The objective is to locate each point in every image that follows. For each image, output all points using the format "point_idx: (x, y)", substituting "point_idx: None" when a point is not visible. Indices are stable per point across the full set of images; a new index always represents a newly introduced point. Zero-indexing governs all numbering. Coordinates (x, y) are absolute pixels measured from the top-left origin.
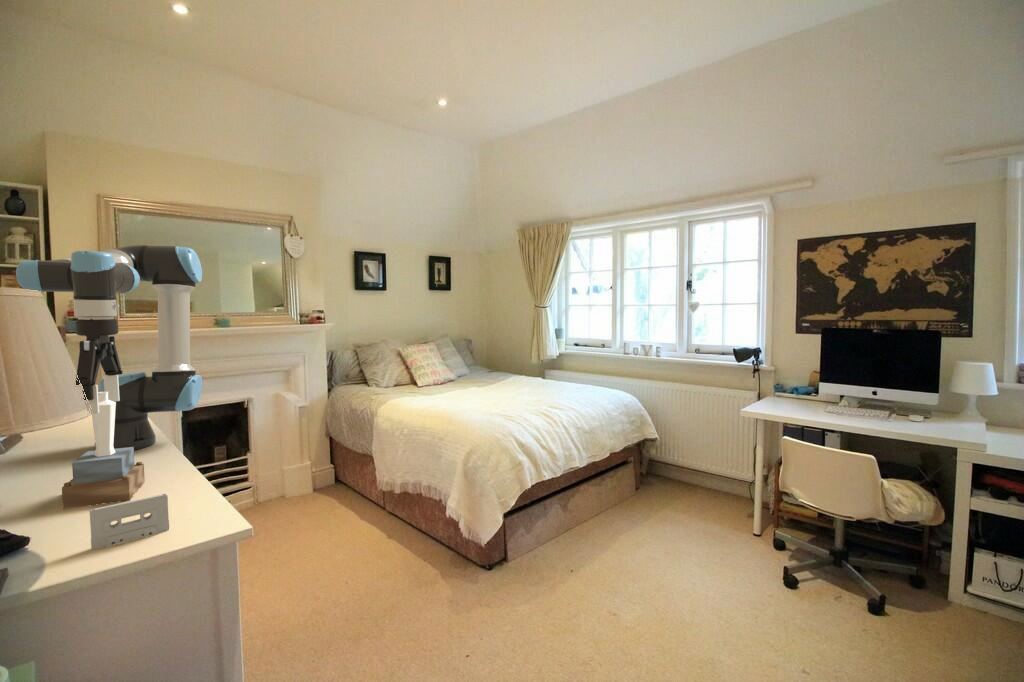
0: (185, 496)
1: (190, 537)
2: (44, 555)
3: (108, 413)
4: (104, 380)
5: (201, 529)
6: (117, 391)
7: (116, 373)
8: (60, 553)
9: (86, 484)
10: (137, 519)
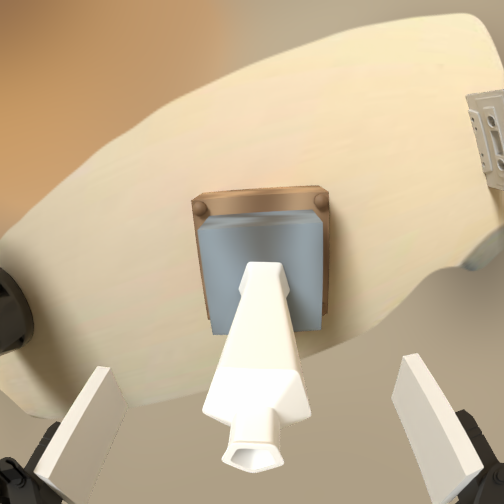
0: (331, 79)
1: (491, 70)
2: (482, 237)
3: (294, 346)
4: (91, 490)
5: (474, 55)
6: (90, 405)
7: (33, 484)
8: (485, 220)
9: (327, 274)
10: (491, 134)
